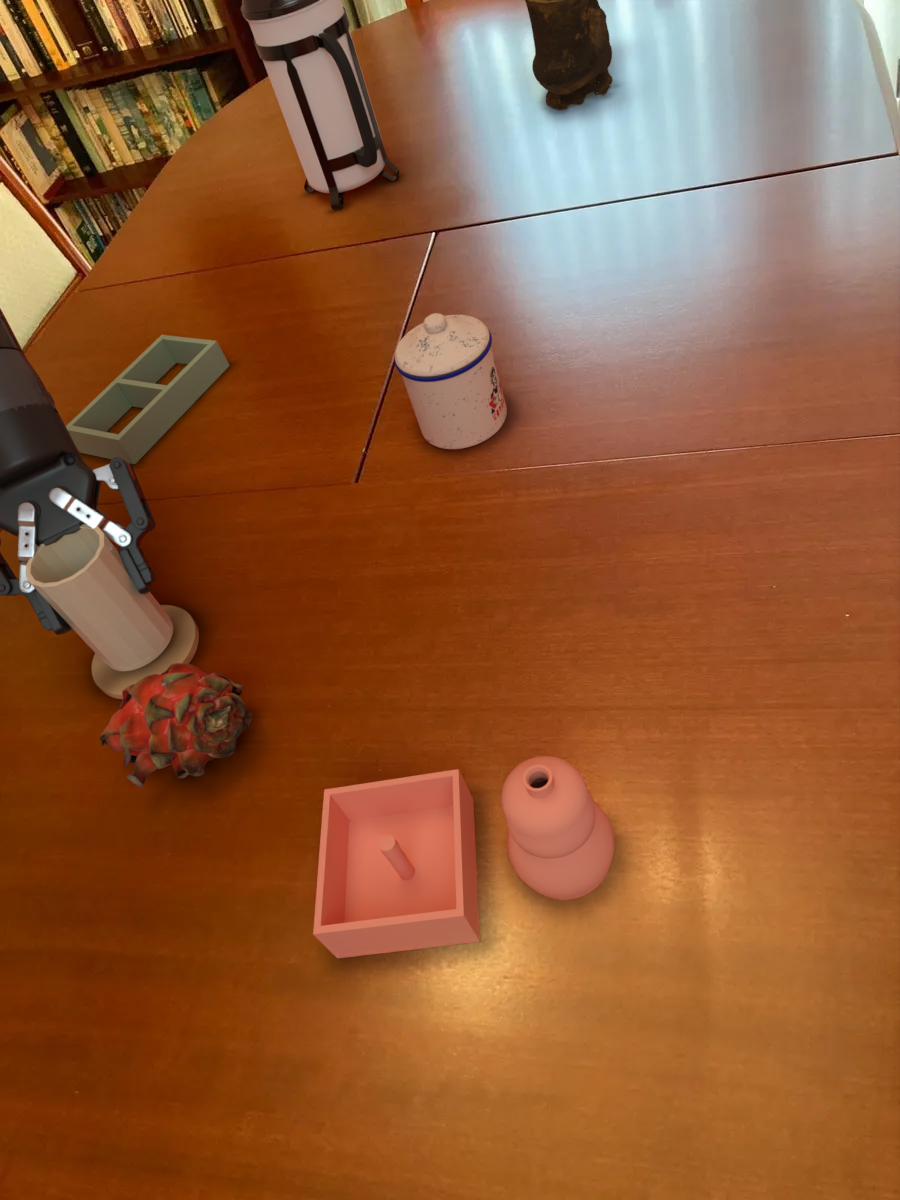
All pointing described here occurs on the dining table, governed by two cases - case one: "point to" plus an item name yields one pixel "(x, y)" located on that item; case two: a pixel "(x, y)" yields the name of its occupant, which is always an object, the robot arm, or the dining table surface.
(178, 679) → the dragon fruit
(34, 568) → the cup
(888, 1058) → the dining table surface
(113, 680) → the coaster
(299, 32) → the coffee press
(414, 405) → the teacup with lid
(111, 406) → the divided rectangular holder
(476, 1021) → the dining table surface
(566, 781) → the pottery
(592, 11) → the pottery vessel
